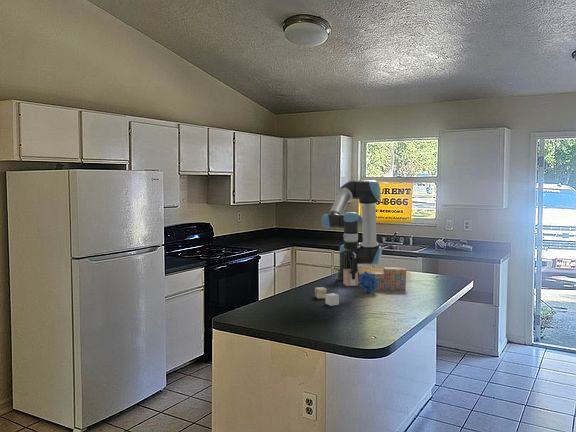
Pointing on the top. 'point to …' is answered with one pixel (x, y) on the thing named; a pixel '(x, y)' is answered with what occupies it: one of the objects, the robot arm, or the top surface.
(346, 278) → the terracotta block
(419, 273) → the top surface
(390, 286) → the stack of blocks
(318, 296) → the maple block
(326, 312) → the top surface
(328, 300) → the off-white plastic block
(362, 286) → the grapes
